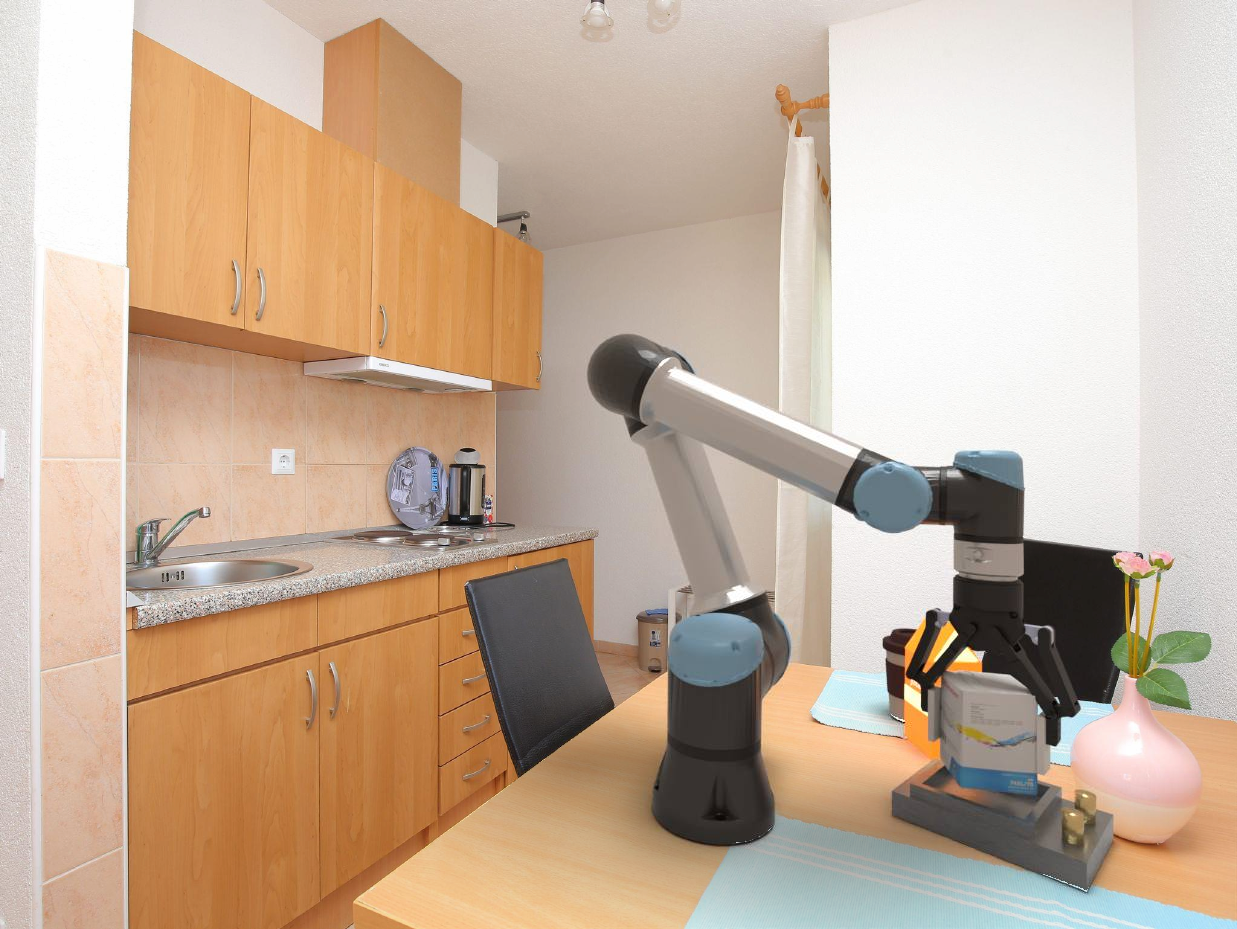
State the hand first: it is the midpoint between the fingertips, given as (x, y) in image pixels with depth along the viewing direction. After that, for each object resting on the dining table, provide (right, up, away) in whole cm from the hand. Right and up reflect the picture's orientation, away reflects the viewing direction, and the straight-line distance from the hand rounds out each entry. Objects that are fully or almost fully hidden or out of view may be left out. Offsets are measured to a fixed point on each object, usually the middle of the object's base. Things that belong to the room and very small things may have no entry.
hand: (986, 754), depth 79 cm
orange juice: (+5, -9, +22) cm, 24 cm away
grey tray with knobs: (+1, -8, -1) cm, 8 cm away
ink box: (0, -3, 0) cm, 3 cm away
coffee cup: (+6, -9, +34) cm, 35 cm away
